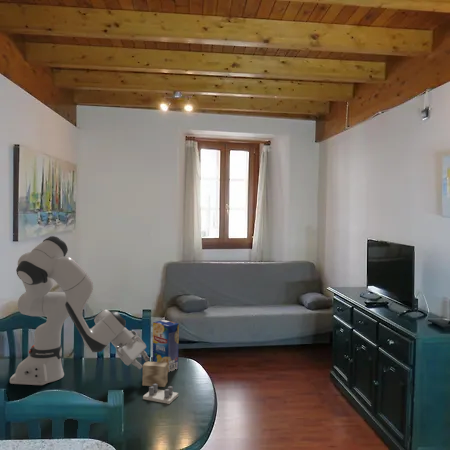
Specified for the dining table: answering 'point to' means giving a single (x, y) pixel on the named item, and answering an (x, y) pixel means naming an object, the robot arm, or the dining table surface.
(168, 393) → the peg stand
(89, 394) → the dining table surface
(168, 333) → the beverage box
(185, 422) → the dining table surface
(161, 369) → the tan wooden block
